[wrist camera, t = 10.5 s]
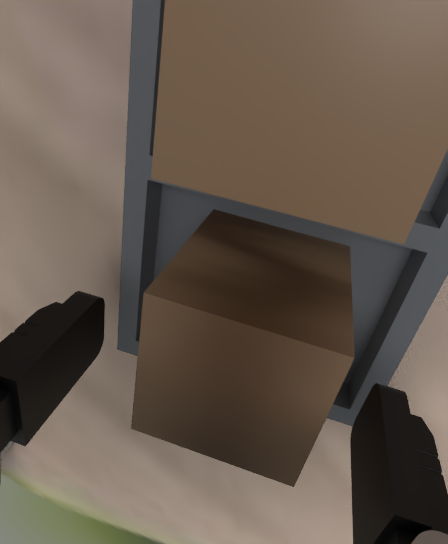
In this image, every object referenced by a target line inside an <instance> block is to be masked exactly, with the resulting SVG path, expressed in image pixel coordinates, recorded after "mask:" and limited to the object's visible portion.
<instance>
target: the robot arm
mask: <svg viewBox="0 0 448 544" xmlns="http://www.w3.org/2000/svg"><path fill="white" fill-rule="evenodd" d="M104 310H105V303H104V299H103V298H100V297H97V296H94V295H91V294H87V293H84V292H81V291H77V292H75V293H74V294H73V295H72V296H71V297H70V298H68V299H67V300H66V301H65V302H64V303H63V304H61V303H57V302H55V303H53V304H50V305H48V306H46V307H44V308H41V309H39V310H38V311H36V312H35V313H34V314H33V315H32V316H31V317H29V318H28V319H27V320H26V321H25V323H22V324H21V325H20V326H19V327H18V328H17V329H15V332H14V333H11V334H10V335H8V336H7V337H6V338H5V339H4V340H3V341H1V342H0V483H1V460H2V456H1V452H2V450H3V449H4V448H5V447H6V446H7V445H8V443H9V442H10V441H12V442H15V443H18V444H21V445H23V446H26V445H27V444H28V442H29V441H30V440H31V439H32V437H33V436H34V435H35V434H36V432H37V431H38V430H39V429H40V427H41V426H42V425H43V424H44V422H45V421H46V420H47V419H48V417H49V416H50V415H51V414H52V412H53V411H54V410H55V409H56V407H57V406H58V405H59V403H60V402H61V401H62V400H63V398H64V397H65V396H66V395H67V393H68V392H69V391H70V390H71V388H72V387H73V386H74V385H75V383H76V382H77V381H78V380H79V378H80V377H81V376H82V375H83V373H84V372H85V371H86V370H87V368H88V367H89V366H90V365H91V363H92V362H93V361H94V360H95V358H96V357H97V355H98V354H99V352H100V350H101V347H102V344H103V340H104ZM441 473H442V469H441V465H440V461H439V459H438V453H437V449H436V445H435V440H434V436H433V435H432V433H431V432H430V430H429V429H428V427H427V425H426V424H425V422H424V421H423V419H422V418H421V417H418V416H415V415H412V414H410V409H409V404H408V399H407V395H406V393H405V392H404V391H400V390H397V389H394V388H391V387H387V386H384V385H381V384H378V383H376V384H374V385H373V387H372V388H371V390H370V392H369V394H368V396H367V398H366V400H365V401H364V403H363V405H362V407H361V409H360V411H359V413H358V415H357V417H356V419H355V421H354V424H353V427H352V432H351V478H352V514H353V544H448V494H447V490H446V486H445V481H444V477H443V475H441Z"/></svg>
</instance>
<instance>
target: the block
mask: <svg viewBox="0 0 448 544" xmlns="http://www.w3.org/2000/svg"><path fill="white" fill-rule="evenodd" d="M354 358H355V356H354V331H353V306H352V282H351V257H350V246H347V245H343V244H339V243H336V242H332V241H328V240H325V239H321V238H317V237H314V236H310V235H306V234H303V233H299V232H296V231H292V230H288V229H285V228H281V227H277V226H274V225H270V224H266V223H263V222H259V221H255V220H252V219H248V218H244V217H241V216H237V215H233V214H230V213H226V212H222V211H219V210H215V209H213V211H212V212H211V213H210V214H209V215H208V216H207V218H206V219H205V220H204V221H203V222H202V224H201V225H200V226H199V227H198V228H197V230H196V231H195V232H194V233H193V234H192V236H191V237H190V238H189V239H188V240H187V242H186V243H185V244H184V245H183V246H182V248H181V249H180V250H179V251H178V252H177V254H176V255H175V256H174V257H173V258H172V259H171V261H170V262H169V263H168V264H167V265H166V267H165V268H164V269H163V270H162V271H161V273H160V274H159V275H158V276H157V277H156V279H155V280H154V281H153V282H152V283H151V285H150V286H149V287H148V288H147V289H146V291H145V292H144V295H143V306H142V317H141V328H140V339H139V350H138V361H137V371H136V382H135V393H134V404H133V415H132V426H131V429H134V430H137V431H139V432H142V433H145V434H148V435H151V436H153V437H156V438H159V439H162V440H164V441H167V442H170V443H173V444H176V445H178V446H181V447H184V448H187V449H190V450H192V451H195V452H198V453H201V454H203V455H206V456H209V457H212V458H215V459H217V460H220V461H223V462H226V463H228V464H231V465H234V466H237V467H240V468H242V469H245V470H248V471H251V472H253V473H256V474H259V475H262V476H265V477H267V478H270V479H273V480H276V481H278V482H281V483H284V484H287V485H290V486H292V487H294V485H295V483H296V481H297V479H298V477H299V475H300V473H301V470H302V468H303V466H304V464H305V462H306V460H307V458H308V456H309V454H310V451H311V449H312V447H313V445H314V443H315V441H316V439H317V437H318V434H319V432H320V430H321V428H322V426H323V424H324V422H325V420H326V418H327V415H328V413H329V411H330V409H331V407H332V405H333V403H334V401H335V398H336V396H337V394H338V392H339V390H340V388H341V386H342V384H343V382H344V379H345V377H346V375H347V373H348V371H349V369H350V367H351V365H352V362H353V360H354Z"/></svg>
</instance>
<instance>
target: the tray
mask: <svg viewBox="0 0 448 544" xmlns="http://www.w3.org/2000/svg"><path fill="white" fill-rule="evenodd" d="M213 209H215V210H219V211H222V212H226V213H230V214H233V215H237V216H241V217H244V218H248V219H252V220H255V221H259V222H263V223H266V224H270V225H274V226H277V227H281V228H285V229H288V230H292V231H296V232H299V233H303V234H306V235H310V236H314V237H317V238H321V239H325V240H328V241H332V242H336V243H339V244H343V245H347V246H350V257H351V282H352V306H353V331H354V356H355V358H354V360H353V362H352V365H351V367H350V369H349V371H348V373H347V375H346V377H345V379H344V382H343V384H342V386H341V388H340V390H339V392H338V394H337V396H336V398H335V401H334V403H333V405H332V407H331V409H330V411H329V413H328V415H327V418H329V419H332V420H335V421H338V422H341V423H344V424H347V425H350V426H353V424H354V421H355V419H356V417H357V415H358V413H359V411H360V409H361V407H362V405H363V403H364V401H365V400H366V398H367V396H368V394H369V392H370V390H371V388H372V387H373V385H374V384H376V383H378V384H381V385H384V386H387V385H388V383H389V381H390V380H391V378H392V376H393V374H394V372H395V370H396V369H397V367H398V365H399V363H400V361H401V359H402V358H403V356H404V354H405V352H406V350H407V348H408V346H409V345H410V343H411V341H412V339H413V337H414V335H415V334H416V332H417V330H418V328H419V326H420V324H421V323H422V321H423V319H424V317H425V315H426V313H427V311H428V310H429V308H430V306H431V304H432V302H433V300H434V299H435V297H436V295H437V293H438V291H439V289H440V288H441V286H442V284H443V282H444V280H445V278H446V276H447V275H448V0H133V9H132V31H131V54H130V76H129V99H128V121H127V144H126V166H125V189H124V211H123V234H122V256H121V279H120V301H119V324H118V346H117V349H118V350H121V351H124V352H127V353H130V354H133V355H136V356H138V350H139V339H140V328H141V317H142V306H143V295H144V292H145V291H146V289H147V288H148V287H149V286H150V285H151V283H152V282H153V281H154V280H155V279H156V277H157V276H158V275H159V274H160V273H161V271H162V270H163V269H164V268H165V267H166V265H167V264H168V263H169V262H170V261H171V259H172V258H173V257H174V256H175V255H176V254H177V252H178V251H179V250H180V249H181V248H182V246H183V245H184V244H185V243H186V242H187V240H188V239H189V238H190V237H191V236H192V234H193V233H194V232H195V231H196V230H197V228H198V227H199V226H200V225H201V224H202V222H203V221H204V220H205V219H206V218H207V216H208V215H209V214H210V213H211V212H212V211H213Z"/></svg>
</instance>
